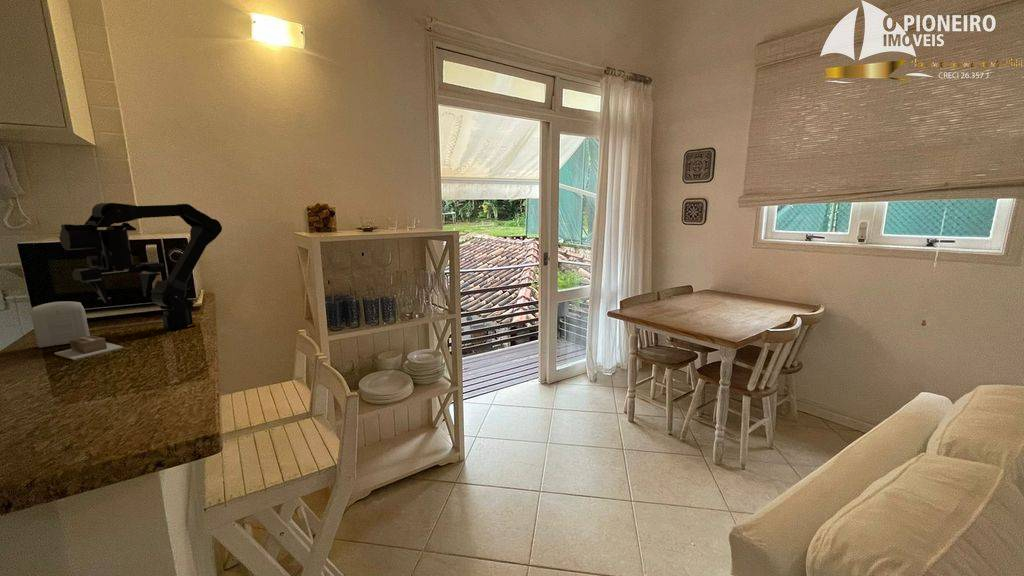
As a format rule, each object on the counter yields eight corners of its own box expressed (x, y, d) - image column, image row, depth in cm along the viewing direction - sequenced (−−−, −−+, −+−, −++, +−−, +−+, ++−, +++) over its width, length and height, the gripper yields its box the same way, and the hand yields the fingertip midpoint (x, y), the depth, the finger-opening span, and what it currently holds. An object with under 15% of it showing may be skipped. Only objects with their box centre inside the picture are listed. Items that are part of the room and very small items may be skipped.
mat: (103, 342, 115) (103, 341, 115) (123, 348, 111) (123, 346, 111) (54, 354, 106) (54, 352, 106) (74, 360, 102) (73, 358, 102)
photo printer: (91, 337, 120) (82, 298, 117) (90, 341, 117) (81, 300, 114) (39, 345, 113) (29, 303, 110) (37, 349, 110) (26, 306, 107)
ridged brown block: (107, 348, 109) (104, 337, 109) (85, 354, 105) (82, 342, 104) (94, 345, 112) (91, 334, 111) (71, 350, 108) (69, 339, 107)
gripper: (141, 243, 126) (150, 291, 129) (57, 248, 109) (69, 303, 112) (161, 244, 121) (169, 294, 124) (76, 250, 105) (89, 307, 108)
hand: (126, 299), depth 117 cm, fingers open, 9 cm apart
